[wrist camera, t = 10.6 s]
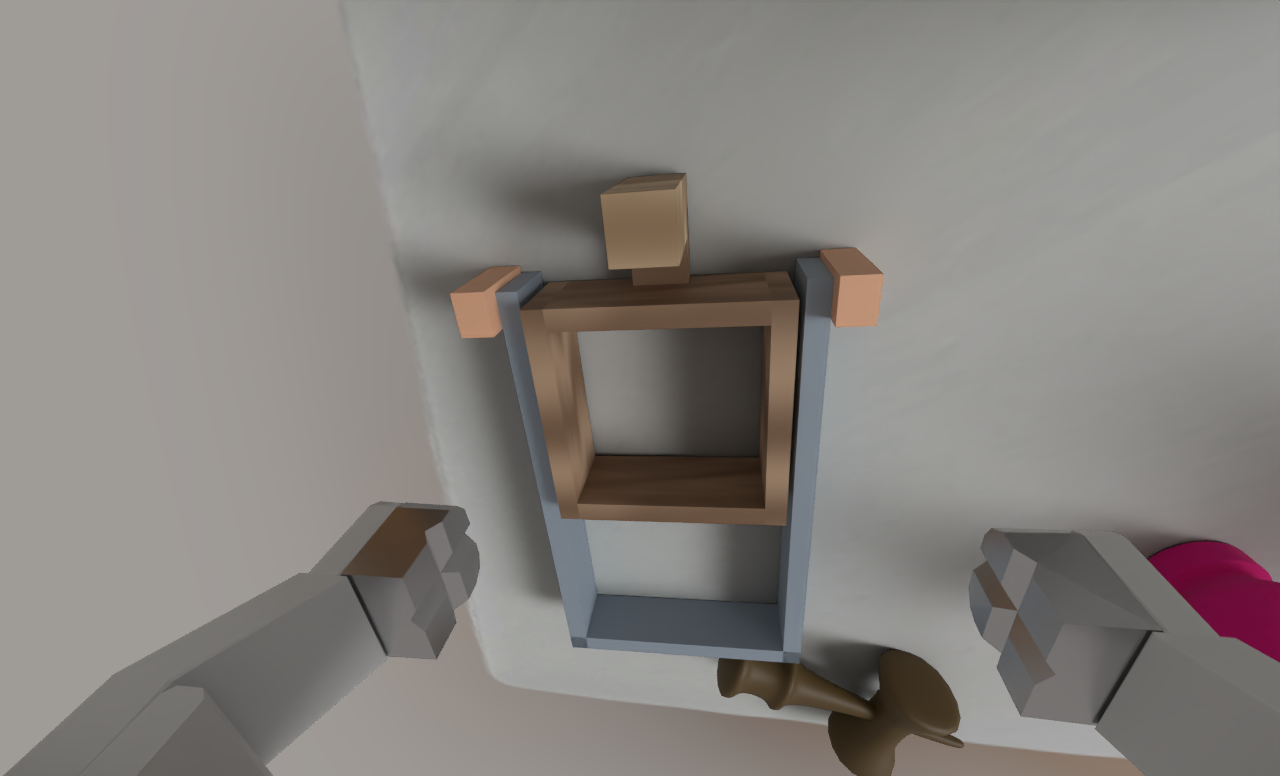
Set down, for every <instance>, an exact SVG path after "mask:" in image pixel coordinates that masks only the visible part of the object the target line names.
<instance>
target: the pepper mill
mask: <svg viewBox="0 0 1280 776" xmlns="http://www.w3.org/2000/svg"><path fill="white" fill-rule="evenodd" d="M1148 561H1149V562H1150V563H1151V564H1152V565H1153V566H1154V567H1155V569H1156V570H1157V571H1158V572H1159V573H1160V574H1161V575H1162V576H1163V577H1164V578H1165V579H1166V580H1167V581H1168V582H1169V583H1170V584H1171V585H1172V586H1173V588H1174V589H1175V590H1176V591H1177V592H1178V593H1179V594H1180V595H1181V596H1182V597H1183V598H1184V599H1185V600H1186V601H1187V602H1188V603H1189V604H1190V606H1191V607H1192V608H1193V609H1194V610H1195V611H1196V612H1197V613H1198V614H1199V615H1200V616H1201V617H1202V618H1203V619H1204V620H1205V621H1206V622H1207V623H1208V625H1209V626H1210V627H1211V628H1212V629H1213V630H1214V631H1215V632H1216V633H1217V634H1218V635H1219V636H1220V637H1229V638H1236V639H1238V640H1240V641H1242V642H1244V643H1245V644H1247V645H1249V646H1251V647H1253V648H1254V649H1256V650H1258V651H1260V652H1261V653H1263V654H1265V655H1267V656H1269V657H1270V658H1272V659H1274V660H1276V661H1278V662H1279V663H1280V583H1278V582H1274V581H1272V579H1271V576H1270V575H1269V573H1268V572H1267V571H1266V570H1265V569H1263V568H1262V567H1261V566H1260V565H1259V564H1257V563H1256V562H1255V561H1254V560H1253V559H1251V558H1250V557H1249V556H1248V555H1246V554H1245V553H1244V552H1243V551H1241V550H1240V549H1238V548H1236V547H1234V546H1231V545H1229V544H1225V543H1219V542H1210V541H1200V542H1190V543H1185V544H1180V545H1177V546H1174V547H1171V548H1168V549H1166V550H1163V551H1161V552H1159V553H1157V554H1155V555H1154V556H1152V557H1151V558H1149V559H1148Z"/></svg>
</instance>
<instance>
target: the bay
mask: <svg viewBox="0 0 1280 776" xmlns="http://www.w3.org/2000/svg"><path fill="white" fill-rule="evenodd" d="M883 277H884V274H883V273H882V272H881V271H880V270H879V269H878V268H877V267H876V266H875V265H874V264H873V263H872V262H871V261H870V260H868V259H867V258H866V257H865V256H864V255H863V254H862V253H861V252H860V251H859V250H858V249H857V248H843V249H824V250H820V257H815V258H796V274H795V291H796V293H797V295H798V297H799V317H798V334H797V351H796V368H795V385H794V401H793V418H792V435H791V452H790V469H789V486H788V502H787V519H786V526H782V531H781V549H780V568H779V586H778V604H761V603H743V602H725V601H707V600H689V599H671V598H653V597H635V596H617V595H599V594H597V591H596V585H595V579H594V573H593V568H592V562H591V556H590V551H589V545H588V539H587V533H586V528H585V522H584V519H561V515H560V510H559V505H558V500H557V495H556V490H555V485H554V480H553V476H552V471H551V466H550V461H549V456H548V451H547V446H546V441H545V436H544V431H543V426H542V421H541V416H540V411H539V406H538V401H537V396H536V391H535V386H534V381H533V376H532V371H531V366H530V361H529V356H528V351H527V346H526V341H525V336H524V331H523V326H522V321H521V316H520V311H519V310H520V309H521V308H522V307H524V306H525V305H526V304H527V303H528V302H529V301H530V300H531V299H532V298H533V297H534V296H535V295H536V294H537V293H538V292H539V291H540V290H542V289H543V288H544V287H543V282H542V276H541V272H522V273H521V269H520V266H506V267H491V268H489V269H487V270H486V271H484V272H483V273H481V274H480V275H478V276H477V277H475V278H473V279H472V280H470V281H469V282H467V283H466V284H464V285H462V286H461V287H459V288H458V289H456V290H455V291H453V292H451V293H450V296H451V300H452V304H453V307H454V311H455V315H456V319H457V323H458V327H459V330H460V334H461V338H487V337H495V336H496V335H497V334H498V333H499V332H500V331H501V330H502V329H503V332H504V337H505V342H506V346H507V351H508V355H509V360H510V364H511V369H512V373H513V378H514V382H515V387H516V391H517V396H518V401H519V405H520V410H521V414H522V419H523V423H524V428H525V432H526V437H527V441H528V446H529V450H530V455H531V459H532V464H533V469H534V473H535V478H536V482H537V487H538V491H539V496H540V500H541V505H542V509H543V514H544V518H545V523H546V528H547V532H548V537H549V541H550V546H551V550H552V555H553V559H554V564H555V568H556V573H557V577H558V582H559V587H560V591H561V596H562V600H563V605H564V609H565V614H566V618H567V623H568V627H569V632H570V636H571V641H572V646H573V647H579V648H593V649H606V650H620V651H634V652H647V653H661V654H674V655H688V656H702V657H715V658H729V659H743V660H756V661H770V662H783V663H797V664H800V655H801V644H802V633H803V621H804V610H805V599H806V588H807V577H808V566H809V555H810V543H811V532H812V521H813V510H814V499H815V488H816V476H817V465H818V454H819V443H820V432H821V421H822V410H823V398H824V387H825V376H826V365H827V354H828V343H829V332H830V320H832V322H833V323H834V325H835V327H858V326H877V322H878V315H879V307H880V300H881V292H882V285H883Z"/></svg>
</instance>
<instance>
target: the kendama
mask: <svg viewBox="0 0 1280 776" xmlns="http://www.w3.org/2000/svg"><path fill="white" fill-rule="evenodd" d="M878 672H879V683H880V689H879V690H878V691H877V693H876V694H875V695H874V696H873V697H872V698H871V699H870V700H869V701H868V700H865V699H863V698H861V697H859V696H857V695H855V694H853V693H851V692H849V691H847V690H845V689H843V688H841V687H839V686H837V685H835V684H833V683H831V682H830V681H828V680H826V679H824V678H822V677H820V676H819V675H817V674H815V673H814V672H812V671H810V670H809V669H807V668H805V667H804V666H803V665H801V664H797V663H783V662H770V661H756V660H743V659H729V658H719V661H718V669H717V680H718V687H719V691H720V693H721V696H724V697H727V698H730V697H733V696H735V695H737V694H739V693H748V694H752V695H755V696H758V697H760V698H762V699H763V700H765V702H766V703H767V704H768V706H769V708H770V709H773V710H779V709H781V708H782V707H783V706H785V705H804V706H811V707H816V708H821V709H826V710H831V711H832V713H831V715H830V717H829V719H828V733H829V737H830V740H831V744H832V747H833V749H834V751H835V753H836V754H837V756H838V758H839V760H840V761H841V762H842V763H843V764H844V765H845V766H846V767H847V768H848V769H849V770H850V771H851V772H852V773H853V774H855V775H857V776H891V773H892V770H893V767H894V762H895V748H896V746H897V744H898V743H899V742H900V741H901V740H902V739H903V738H905V737H906V736H907V735H910V734H914V735H917V736H920V737H923V738H926V739H929V740H932V741H935V742H939V743H942V744H945V745H948V746H952V747H957V748H962V747H964V743H963V742H962V741H961V740H959V739H958V738H956V737H954V736H952V735H949V734H952V733H954V732H956V731H957V730H958V726H959V722H960V714H959V709H958V704H957V701H956V699H955V697H954V695H953V693H952V691H951V689H950V687H949V685H948V684H947V683H946V681H945V680H944V679H943V678H942V676H941V675H940V674H939V672H938V671H937V670H936V669H934V668H933V667H932V666H931V665H929V664H928V663H927V662H926V661H924V660H923V659H921V658H919V657H917V656H915V655H913V654H911V653H907V652H904V651H900V650H896V649H893V650H889V651H885V652H884V653H883V654H882V656H881V658H880V660H879V663H878Z"/></svg>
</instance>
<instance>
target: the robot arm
mask: <svg viewBox="0 0 1280 776" xmlns="http://www.w3.org/2000/svg"><path fill="white" fill-rule="evenodd" d="M469 525H470V522H469V520H468V517H467V514H466V511H465V509H463V508H461V507H458V506H449V505H433V504H418V503H395V502H394V503H393V502H381V501H380V502H377V503H375V504H373V505H370V506H369V507H368V508H367V510H366V511H365V512H364V513H363V514H362V515H361V516H360V517H359V518H358V519H357V520H356V522H355V523H354V524H353V525H352V526H351V527H350V528H349V529H348V530H347V532H345V534H344V535H343V536H342V537H341V538H340V539H339V540H338V541H337V542H336V543H335V545H334V546H333V547H332V548H331V549H330V550H329V551H328V552H327V553H326V554H325V555H324V557H323V558H322V559H321V560H320V561H319V562H318V563H317V564H316V565H315V566H314V567H313V569H312V570H311V571H310V572H309V573H299V574H297V575H295V576H293V577H291V578H289V579H288V580H286V581H284V582H282V583H280V584H278V585H277V586H275V587H273V588H271V589H269V590H267V591H266V592H264V593H262V594H260V595H258V596H256V597H255V598H253V599H251V600H249V601H248V602H245V603H244V604H242V605H240V606H238V607H236V608H234V609H233V610H231V611H229V612H227V613H225V614H223V615H222V616H220V617H218V618H216V619H214V620H212V621H211V622H209V623H207V624H205V625H203V626H202V627H200V628H198V629H196V630H194V631H192V632H190V633H189V634H187V635H185V636H183V637H181V638H179V639H178V640H176V641H174V642H172V643H170V644H168V645H167V646H165V647H163V648H161V649H159V650H157V651H156V652H154V653H152V654H150V655H148V656H146V657H145V658H143V659H141V660H139V661H137V662H135V663H134V664H132V665H130V666H128V667H126V668H125V669H123V670H121V671H119V672H117V673H115V674H114V675H112V676H111V677H110V678H109V679H108V680H107V681H106V682H105V683H104V684H103V685H102V686H101V687H99V688H98V689H97V690H96V691H95V692H94V693H93V694H92V695H91V696H90V697H88V698H87V699H86V700H85V701H84V702H83V703H82V704H81V705H80V706H79V707H78V708H77V709H76V710H74V711H73V712H72V713H71V714H70V715H69V716H68V717H67V718H66V719H64V721H62V722H61V723H60V724H59V725H58V726H57V727H56V728H55V729H54V730H53V731H51V732H50V733H49V734H48V735H47V736H46V737H45V738H44V739H43V740H42V741H40V742H39V743H38V744H37V745H36V746H35V747H34V748H33V749H32V750H31V751H30V752H29V753H27V754H26V755H25V756H24V757H23V758H22V759H21V760H20V761H19V762H18V763H17V764H16V765H15V766H13V767H12V768H11V769H10V770H9V771H8V772H7V773H6V774H5V775H3V776H273V775H272V773H271V772H270V771H269V770H268V768H267V767H266V766H265V765H267V764H268V763H269V762H270V761H271V760H272V759H273V758H274V757H276V756H277V755H278V754H279V753H280V752H281V751H283V750H284V749H285V748H286V747H287V746H288V745H290V744H291V743H292V742H293V741H294V740H295V739H296V738H298V737H299V736H300V735H301V734H302V733H303V732H304V731H306V730H307V729H308V728H309V727H310V726H311V725H312V724H314V723H315V722H316V721H317V720H318V719H319V718H321V717H322V716H323V715H324V714H325V713H326V712H327V711H329V710H330V709H331V708H332V707H333V706H334V705H336V704H337V703H338V702H339V701H340V700H341V699H342V698H344V696H346V695H347V694H348V693H349V692H351V691H352V690H353V689H354V688H355V687H356V686H357V685H359V684H360V683H361V682H362V681H363V680H364V679H366V678H367V677H368V676H369V675H370V674H371V673H372V672H374V671H375V670H376V669H377V668H378V667H379V666H380V665H382V664H383V663H384V662H385V661H386V660H387V657H386V656H391V657H405V658H421V659H437V658H438V656H439V654H440V652H441V650H442V648H443V646H444V645H445V642H446V641H447V639H448V637H449V635H450V633H451V632H452V630H453V628H454V626H455V624H456V618H455V613H454V610H455V609H456V608H457V607H458V606H460V605H461V604H463V603H464V602H465V601H467V600H468V599H469V597H470V595H471V593H472V591H473V589H474V587H475V585H476V582H477V578H478V573H479V569H480V559H479V551H478V548H477V545H476V543H475V542H474V541H473V540H472V539H471V538H470V537H469V536H468V535H466V534H465V532H466V530H467V528H468V526H469ZM980 549H981V550H982V552H983V554H984V556H985V557H986V559H987V561H986V562H984V563H983V564H982V565H980V566H979V567H977V568H976V569H975V570H973V573H972V577H971V581H970V585H969V597H970V608H971V611H972V615H973V618H974V621H975V624H976V626H977V628H978V630H979V632H980V634H981V636H982V638H983V639H984V640H986V641H987V642H988V643H989V644H991V645H992V646H993V647H994V648H996V649H997V650H998V651H999V652H1001V656H1000V659H999V662H998V665H997V669H998V671H999V673H1000V675H1001V677H1002V679H1003V681H1004V683H1005V686H1006V688H1007V690H1008V692H1009V694H1010V696H1011V698H1012V700H1013V702H1014V704H1015V706H1016V708H1017V710H1018V712H1019V714H1020V716H1023V717H1031V718H1039V719H1047V720H1055V721H1063V722H1071V723H1079V724H1088V725H1096V728H1095V729H1096V730H1097V731H1098V732H1099V733H1100V734H1101V735H1102V736H1103V737H1104V738H1105V739H1106V740H1108V741H1109V742H1110V743H1111V744H1112V745H1113V746H1114V747H1115V748H1116V749H1117V750H1118V751H1119V752H1120V753H1122V754H1123V755H1124V756H1125V757H1126V758H1127V759H1128V760H1129V761H1130V762H1131V763H1132V764H1133V765H1135V766H1136V767H1137V768H1138V769H1139V770H1140V771H1141V772H1142V773H1143V774H1144V775H1145V776H1280V663H1279V662H1278V661H1276V660H1274V659H1272V658H1270V657H1269V656H1267V655H1265V654H1263V653H1261V652H1260V651H1258V650H1256V649H1254V648H1253V647H1251V646H1249V645H1247V644H1245V643H1244V642H1242V641H1240V640H1238V639H1236V638H1229V637H1220V636H1219V635H1218V634H1217V633H1216V632H1215V631H1214V630H1213V629H1212V628H1211V627H1210V626H1209V625H1208V623H1207V622H1206V621H1205V620H1204V619H1203V618H1202V617H1201V616H1200V615H1199V614H1198V613H1197V612H1196V611H1195V610H1194V609H1193V608H1192V607H1191V606H1190V604H1189V603H1188V602H1187V601H1186V600H1185V599H1184V598H1183V597H1182V596H1181V595H1180V594H1179V593H1178V592H1177V591H1176V590H1175V589H1174V588H1173V586H1172V585H1171V584H1170V583H1169V582H1168V581H1167V580H1166V579H1165V578H1164V577H1163V576H1162V575H1161V574H1160V573H1159V572H1158V571H1157V570H1156V569H1155V567H1154V566H1153V565H1152V564H1151V563H1150V562H1149V561H1148V560H1147V559H1146V558H1145V557H1144V556H1143V555H1142V554H1141V553H1140V552H1139V551H1138V550H1137V548H1136V547H1135V546H1134V545H1133V544H1132V543H1131V542H1130V541H1129V540H1128V539H1127V538H1125V537H1124V536H1122V535H1120V534H1118V533H1116V532H1111V531H1074V530H1072V531H1060V530H1031V529H1002V528H991V529H990V530H989V531H988V532H987V533H986V534H985V536H984V539H983V542H982V545H981V548H980Z"/></svg>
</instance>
